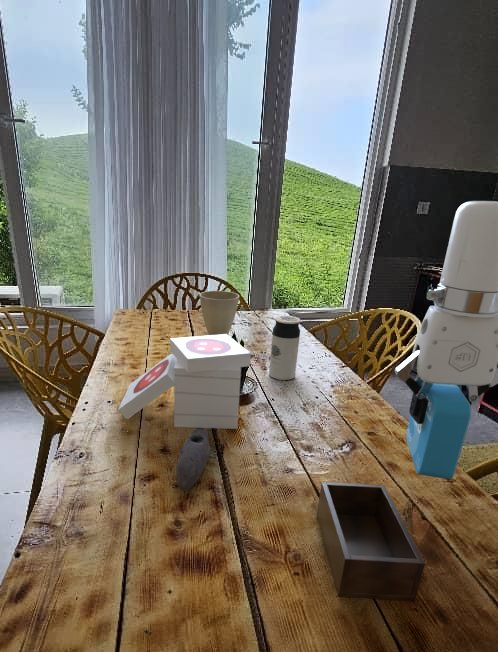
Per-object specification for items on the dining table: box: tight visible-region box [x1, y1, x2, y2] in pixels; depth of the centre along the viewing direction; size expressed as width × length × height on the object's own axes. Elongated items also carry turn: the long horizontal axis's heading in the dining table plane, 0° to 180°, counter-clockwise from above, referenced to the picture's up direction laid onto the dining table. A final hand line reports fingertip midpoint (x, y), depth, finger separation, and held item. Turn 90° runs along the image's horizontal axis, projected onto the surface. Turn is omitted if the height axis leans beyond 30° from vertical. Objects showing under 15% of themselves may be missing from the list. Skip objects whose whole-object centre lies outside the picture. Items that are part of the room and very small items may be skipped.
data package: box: [405, 383, 472, 480], centre depth 66 cm, size 12×4×12 cm, turn 167°
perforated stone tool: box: [175, 428, 211, 492], centre depth 85 cm, size 15×5×7 cm, turn 167°
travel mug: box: [268, 315, 301, 381], centre depth 133 cm, size 8×8×18 cm
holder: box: [316, 481, 426, 602], centre depth 68 cm, size 11×17×7 cm, turn 178°
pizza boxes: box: [117, 334, 252, 430], centre depth 107 cm, size 19×30×18 cm, turn 90°
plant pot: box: [199, 290, 240, 335], centre depth 169 cm, size 15×15×16 cm
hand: (436, 419), depth 66 cm, fingers closed on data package, 5 cm apart
